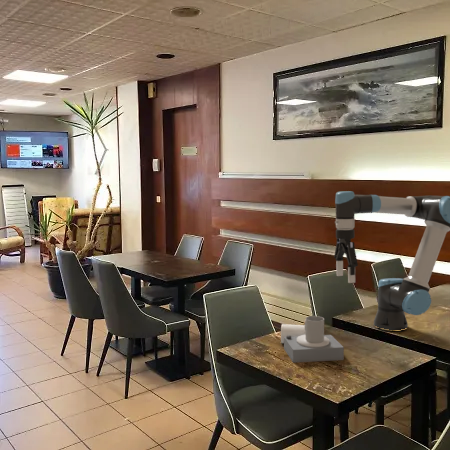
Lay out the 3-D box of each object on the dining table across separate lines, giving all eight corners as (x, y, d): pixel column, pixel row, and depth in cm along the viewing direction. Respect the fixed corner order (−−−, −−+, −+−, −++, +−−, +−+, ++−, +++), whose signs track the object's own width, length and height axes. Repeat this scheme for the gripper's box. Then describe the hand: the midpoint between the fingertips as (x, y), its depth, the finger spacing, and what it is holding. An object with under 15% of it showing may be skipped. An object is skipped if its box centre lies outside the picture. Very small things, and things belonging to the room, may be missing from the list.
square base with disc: (330, 346, 203) (331, 332, 203) (343, 359, 188) (343, 344, 188) (284, 348, 201) (284, 334, 201) (293, 362, 186) (293, 347, 186)
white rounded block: (304, 347, 203) (304, 328, 202) (280, 345, 205) (280, 327, 204) (305, 337, 215) (305, 320, 214) (283, 336, 217) (283, 319, 216)
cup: (312, 344, 188) (312, 322, 187) (298, 337, 197) (298, 315, 196) (327, 341, 191) (327, 319, 191) (312, 334, 200) (312, 313, 200)
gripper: (326, 226, 213) (327, 273, 216) (347, 232, 189) (348, 286, 191) (342, 225, 214) (343, 272, 216) (366, 231, 190) (366, 285, 192)
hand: (345, 279), depth 204 cm, fingers open, 13 cm apart
